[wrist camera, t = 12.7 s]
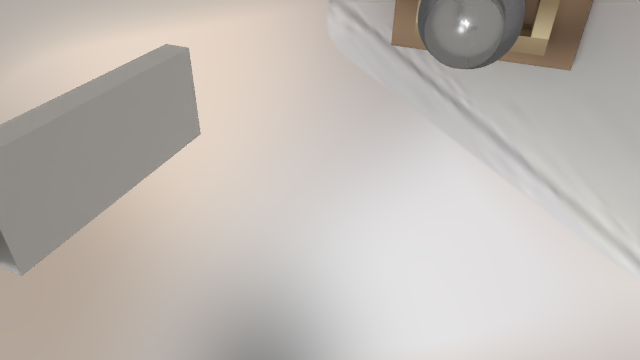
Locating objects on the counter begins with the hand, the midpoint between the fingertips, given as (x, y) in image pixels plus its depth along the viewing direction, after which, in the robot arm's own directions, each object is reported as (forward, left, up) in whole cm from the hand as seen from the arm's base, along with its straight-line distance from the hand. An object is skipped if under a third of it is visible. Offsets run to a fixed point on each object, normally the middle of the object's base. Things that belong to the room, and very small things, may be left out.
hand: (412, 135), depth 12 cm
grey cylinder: (0, 0, -23) cm, 23 cm away
